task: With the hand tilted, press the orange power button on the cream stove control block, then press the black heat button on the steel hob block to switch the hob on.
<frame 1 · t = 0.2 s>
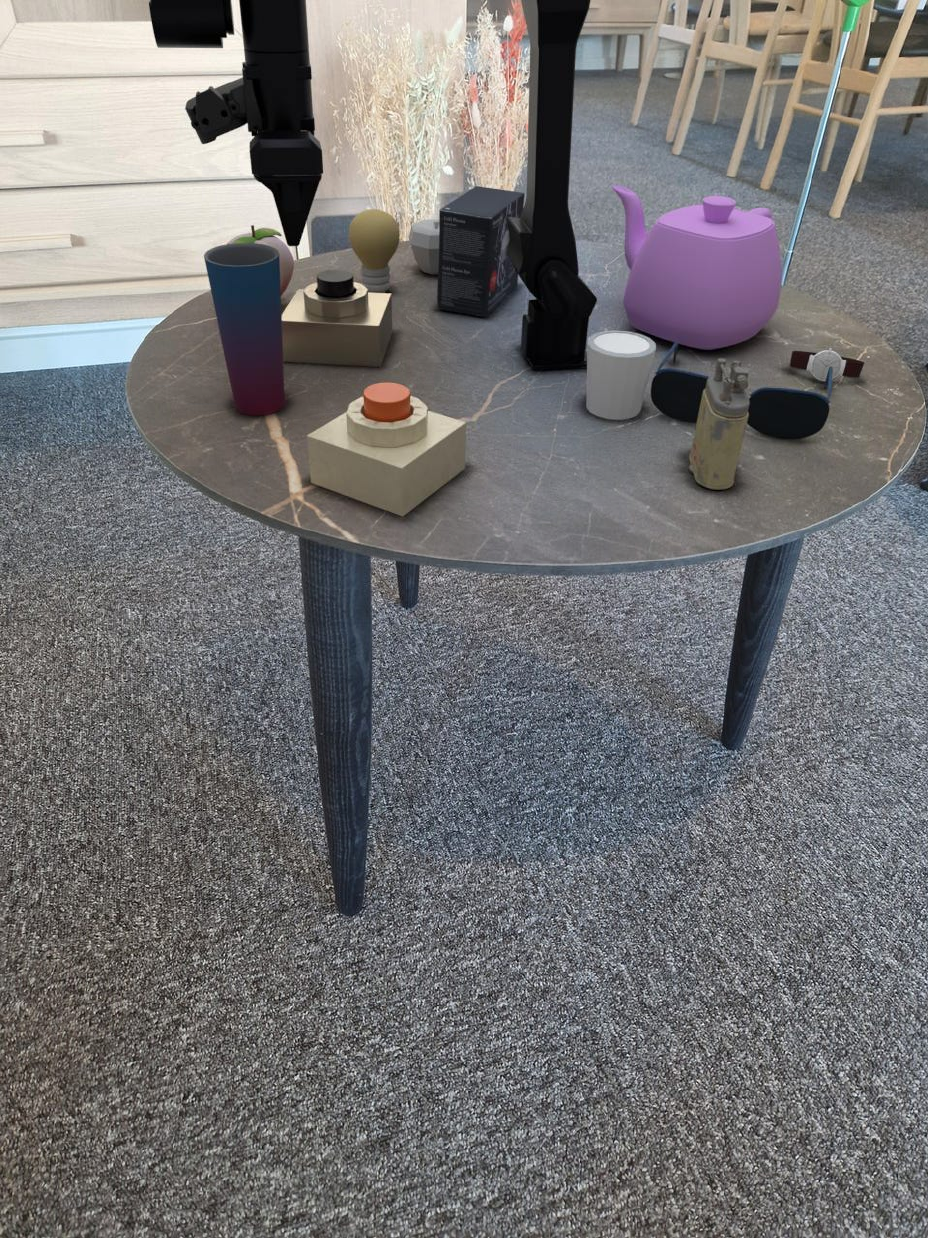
hand: (291, 231, 92), 15 cm above the table, tool pointing down, fingers open, 9 cm apart
heat button: (335, 284, 103), point 7 cm above the table, slide at 0.1 cm
watch: (822, 376, 104), on the table
shot glass: (612, 409, 97), on the table
small box: (479, 299, 121), on the table
lighter: (708, 473, 87), on the table
sunglasses: (739, 402, 99), on the table
light bulb: (376, 292, 122), on the table
cup: (260, 406, 95), on the table
decorative fruit: (259, 310, 116), on the table
teapot: (690, 329, 114), on the table
hob block: (339, 346, 107), on the table
power button: (387, 403, 80), point 7 cm above the table, slide at 0.1 cm
power block: (389, 475, 84), on the table
white faceted pot: (436, 272, 129), on the table
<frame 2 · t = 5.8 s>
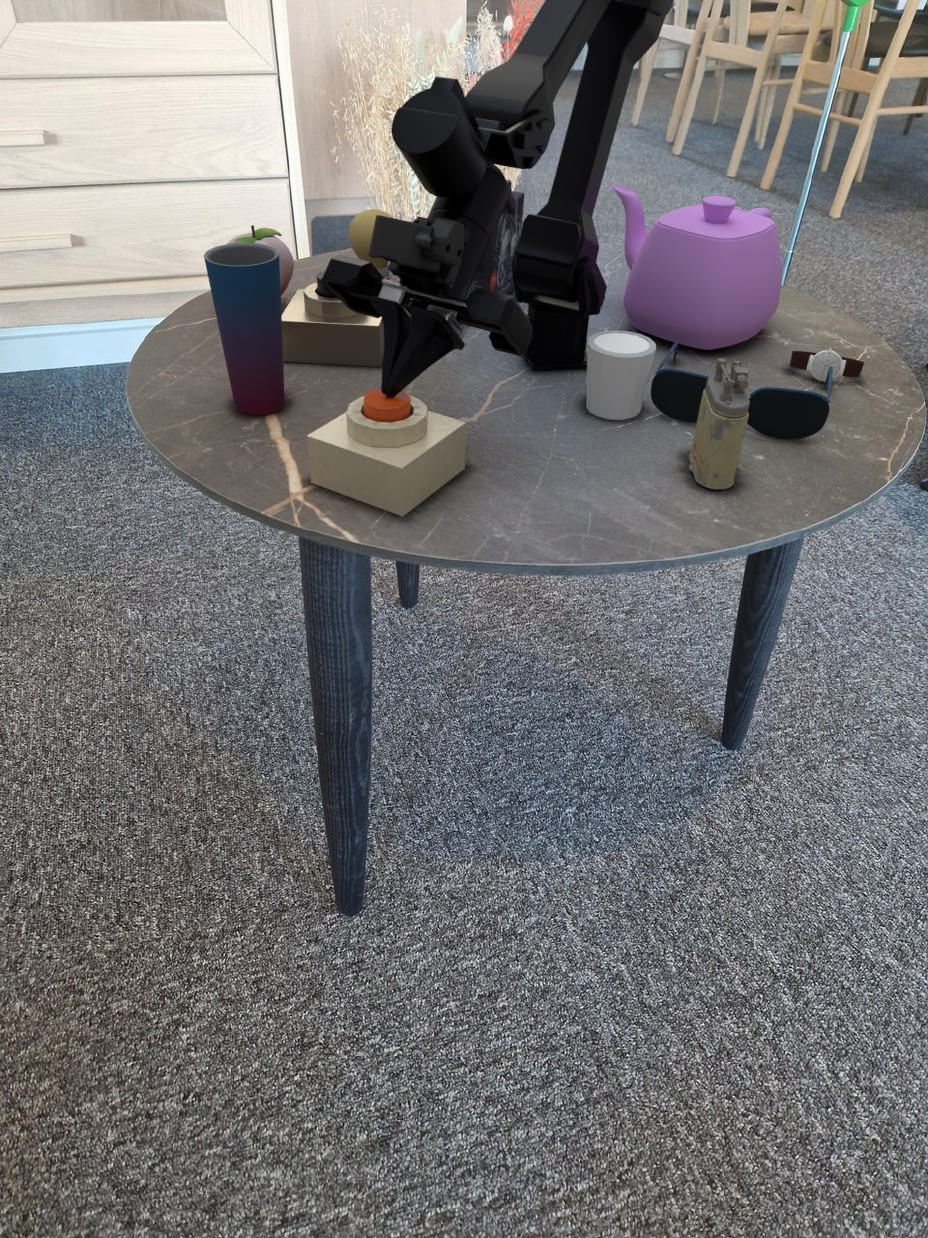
hand: (386, 394, 79), 8 cm above the table, tool tilted 45°, fingers closed, pressing on power button
power button: (387, 409, 80), point 7 cm above the table, slide at -0.5 cm, touching gripper
everything else where it was.
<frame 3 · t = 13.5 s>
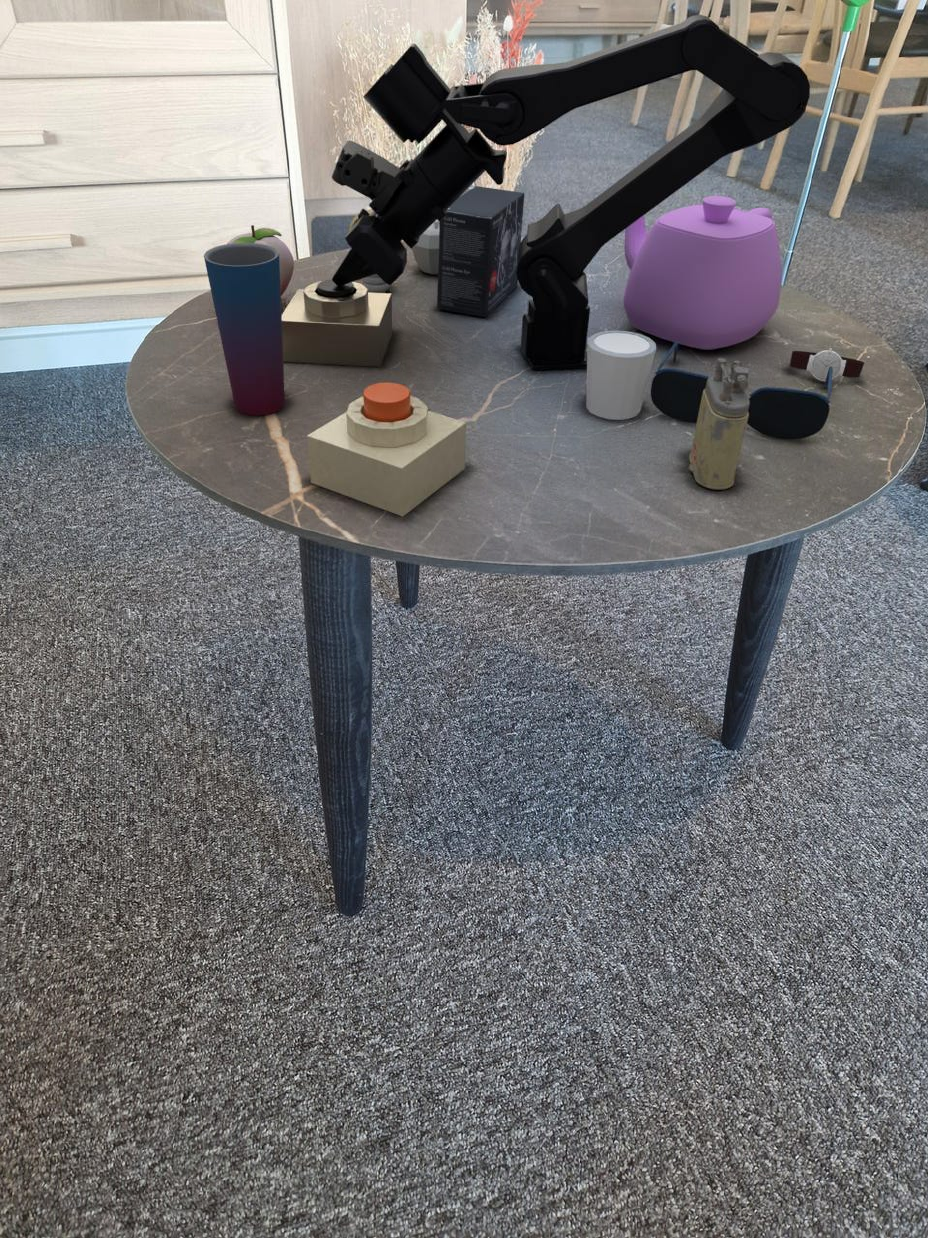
hand: (335, 282, 102), 7 cm above the table, tool tilted 45°, fingers closed, pressing on heat button
heat button: (336, 294, 103), point 6 cm above the table, slide at -1.0 cm, touching gripper
power button: (387, 403, 80), point 7 cm above the table, slide at 0.1 cm
everything else where it was.
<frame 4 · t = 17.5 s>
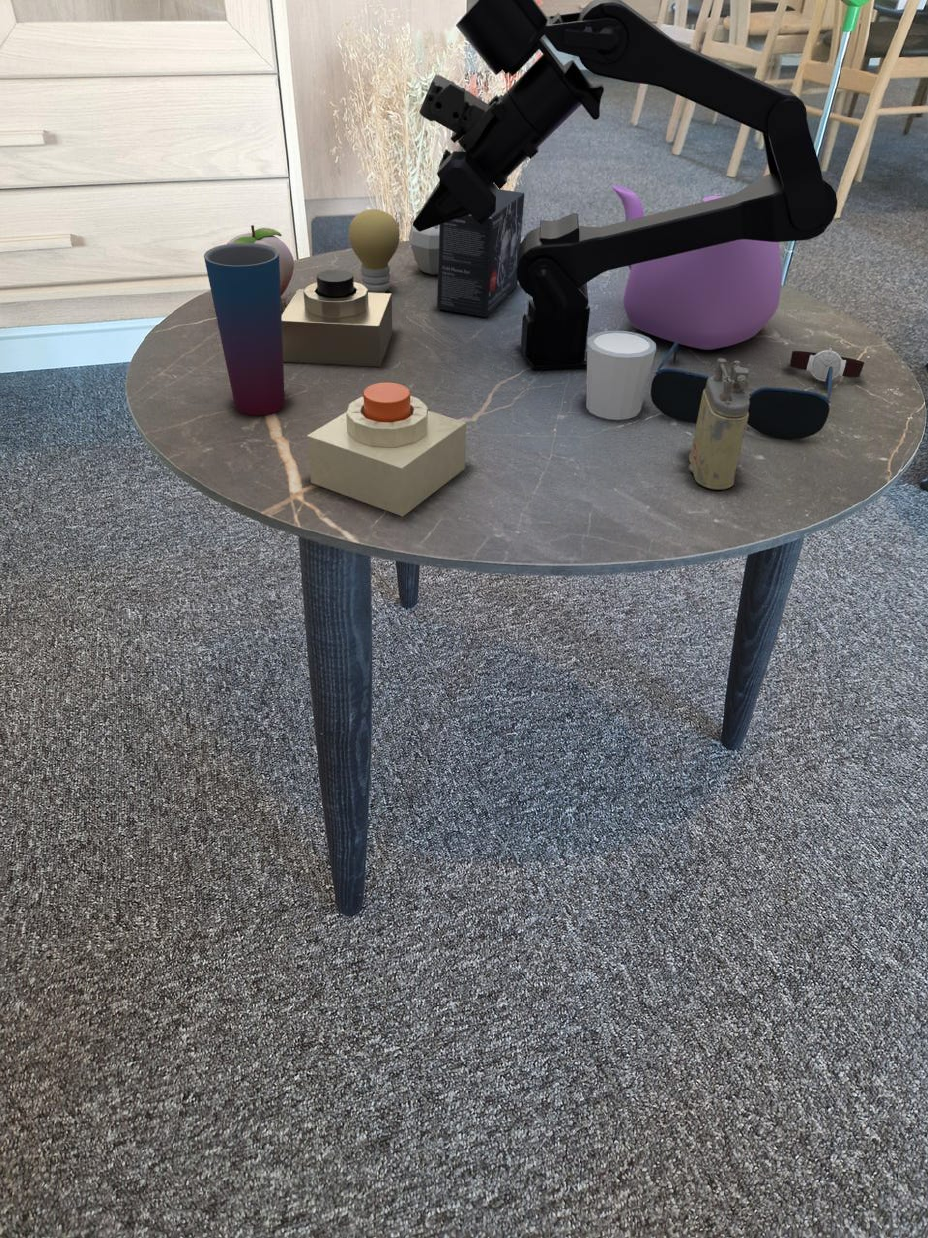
hand: (415, 227, 98), 14 cm above the table, tool tilted 45°, fingers closed
heat button: (335, 284, 103), point 7 cm above the table, slide at 0.1 cm
everything else where it was.
at the end: power button pushed in 1.3 cm at the most during the clip, back to where it started at the end; heat button pushed in 1.3 cm at the most during the clip, back to where it started at the end; heat button slide at 0.1 cm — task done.
